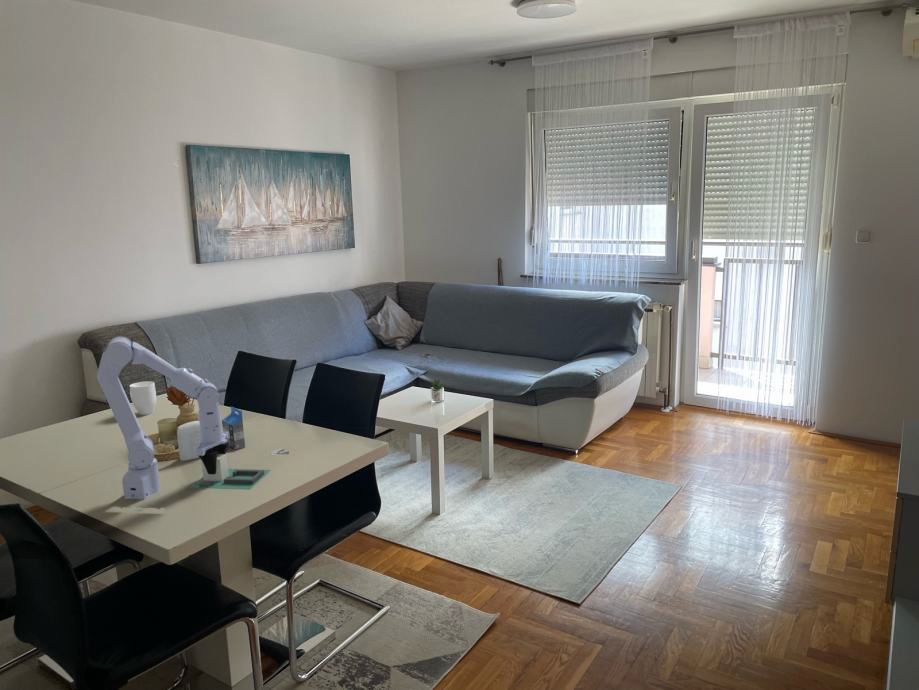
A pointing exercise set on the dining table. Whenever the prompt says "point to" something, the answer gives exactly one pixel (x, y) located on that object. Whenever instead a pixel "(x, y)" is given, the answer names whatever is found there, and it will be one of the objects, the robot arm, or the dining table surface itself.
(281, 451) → the pliers
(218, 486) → the board
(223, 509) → the dining table surface
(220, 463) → the plug
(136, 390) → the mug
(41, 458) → the dining table surface
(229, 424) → the milk carton
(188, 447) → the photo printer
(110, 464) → the dining table surface
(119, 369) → the robot arm
